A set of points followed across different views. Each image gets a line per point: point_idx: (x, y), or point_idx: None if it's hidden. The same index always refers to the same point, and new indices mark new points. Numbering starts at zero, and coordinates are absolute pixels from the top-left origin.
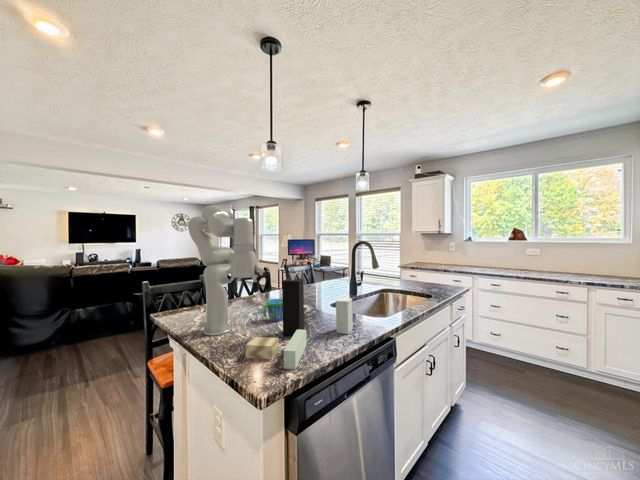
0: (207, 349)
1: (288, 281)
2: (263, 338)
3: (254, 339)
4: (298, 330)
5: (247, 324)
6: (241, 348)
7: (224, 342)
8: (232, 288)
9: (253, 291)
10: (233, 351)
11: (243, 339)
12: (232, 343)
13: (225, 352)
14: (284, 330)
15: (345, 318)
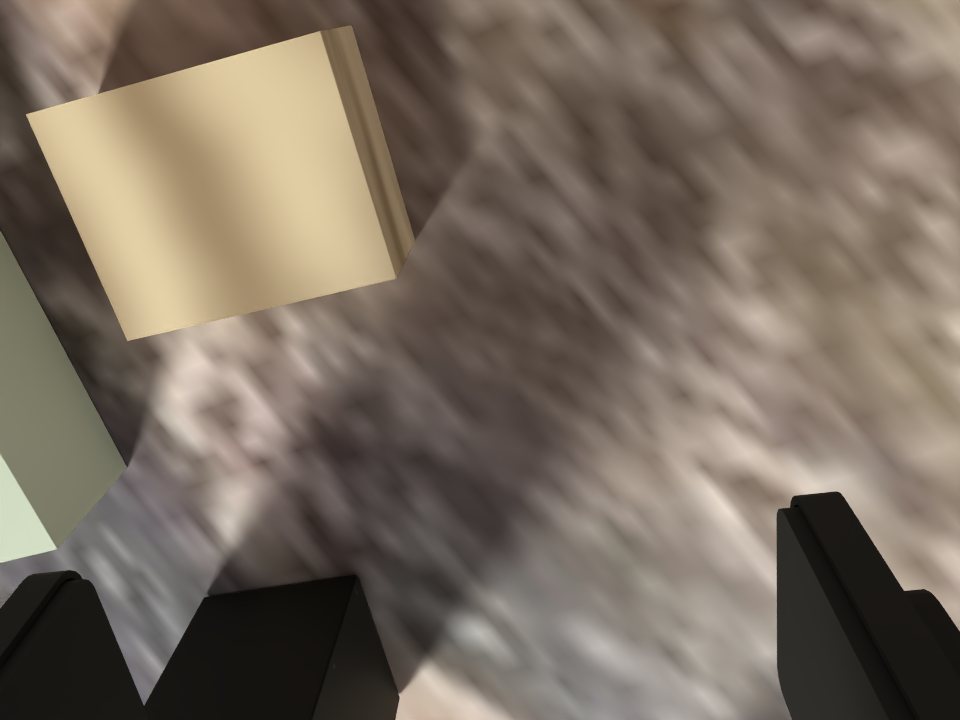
0: (906, 22)
1: None
2: (266, 273)
3: (339, 210)
4: (21, 530)
5: None
6: (548, 195)
7: (836, 255)
8: (838, 562)
9: (68, 589)
10: (577, 99)
11: (682, 390)
12: (729, 265)
13: (644, 42)
14: (329, 612)
15: None
